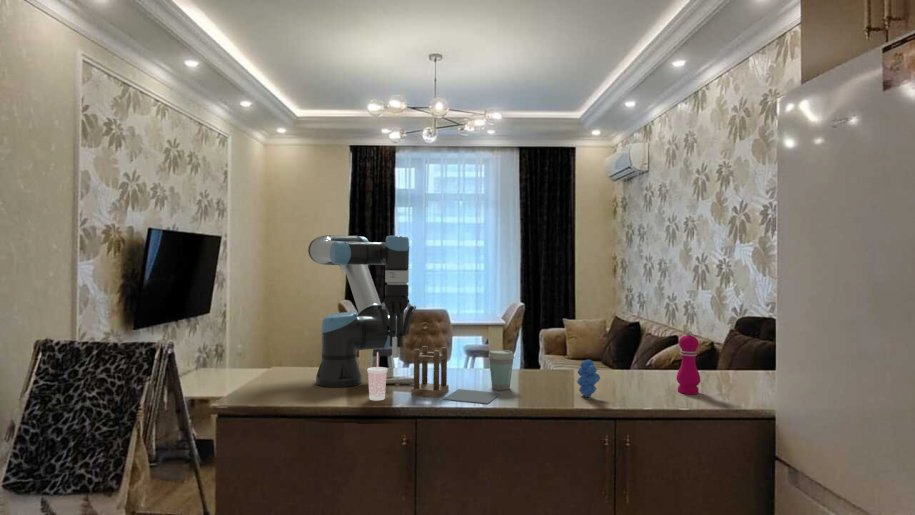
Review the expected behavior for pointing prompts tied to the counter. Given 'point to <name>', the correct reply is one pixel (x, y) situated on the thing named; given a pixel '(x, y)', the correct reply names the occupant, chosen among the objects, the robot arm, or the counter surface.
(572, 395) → the counter surface
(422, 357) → the stool
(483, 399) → the mat
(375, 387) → the beverage cup
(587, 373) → the grapes
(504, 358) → the coffee cup
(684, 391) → the pepper mill
